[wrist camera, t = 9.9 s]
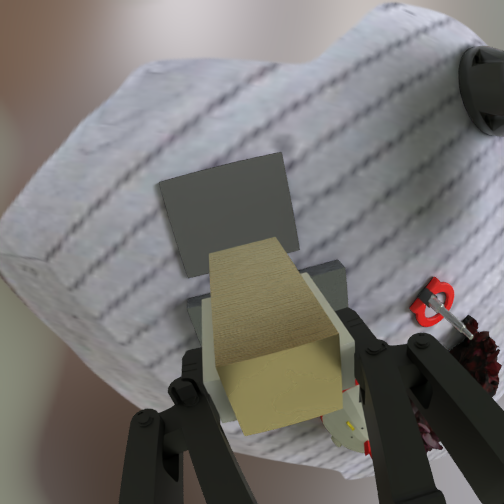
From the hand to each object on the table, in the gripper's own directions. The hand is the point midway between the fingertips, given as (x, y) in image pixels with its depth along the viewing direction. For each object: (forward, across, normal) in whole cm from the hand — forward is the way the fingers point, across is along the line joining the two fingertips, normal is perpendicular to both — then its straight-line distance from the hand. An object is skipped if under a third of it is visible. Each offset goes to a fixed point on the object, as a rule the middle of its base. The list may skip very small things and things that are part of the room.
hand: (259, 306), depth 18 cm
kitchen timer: (+21, +14, -40) cm, 47 cm away
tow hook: (+21, +29, -22) cm, 42 cm away
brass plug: (+4, 0, 0) cm, 4 cm away
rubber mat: (+20, 0, 0) cm, 20 cm away
